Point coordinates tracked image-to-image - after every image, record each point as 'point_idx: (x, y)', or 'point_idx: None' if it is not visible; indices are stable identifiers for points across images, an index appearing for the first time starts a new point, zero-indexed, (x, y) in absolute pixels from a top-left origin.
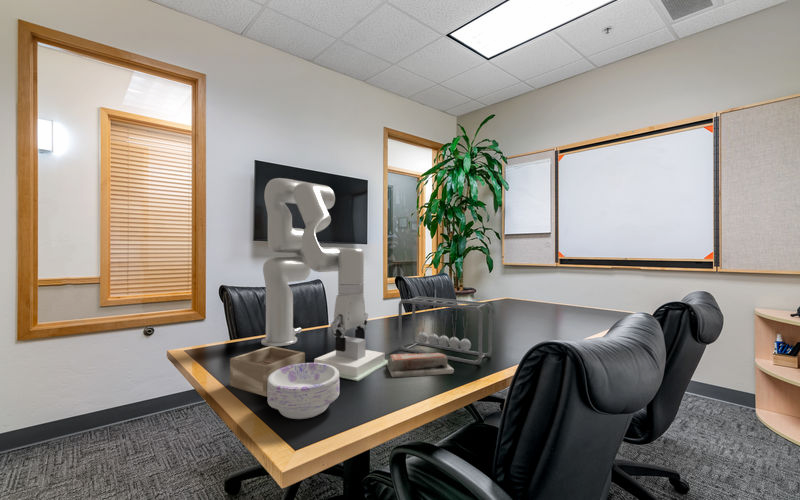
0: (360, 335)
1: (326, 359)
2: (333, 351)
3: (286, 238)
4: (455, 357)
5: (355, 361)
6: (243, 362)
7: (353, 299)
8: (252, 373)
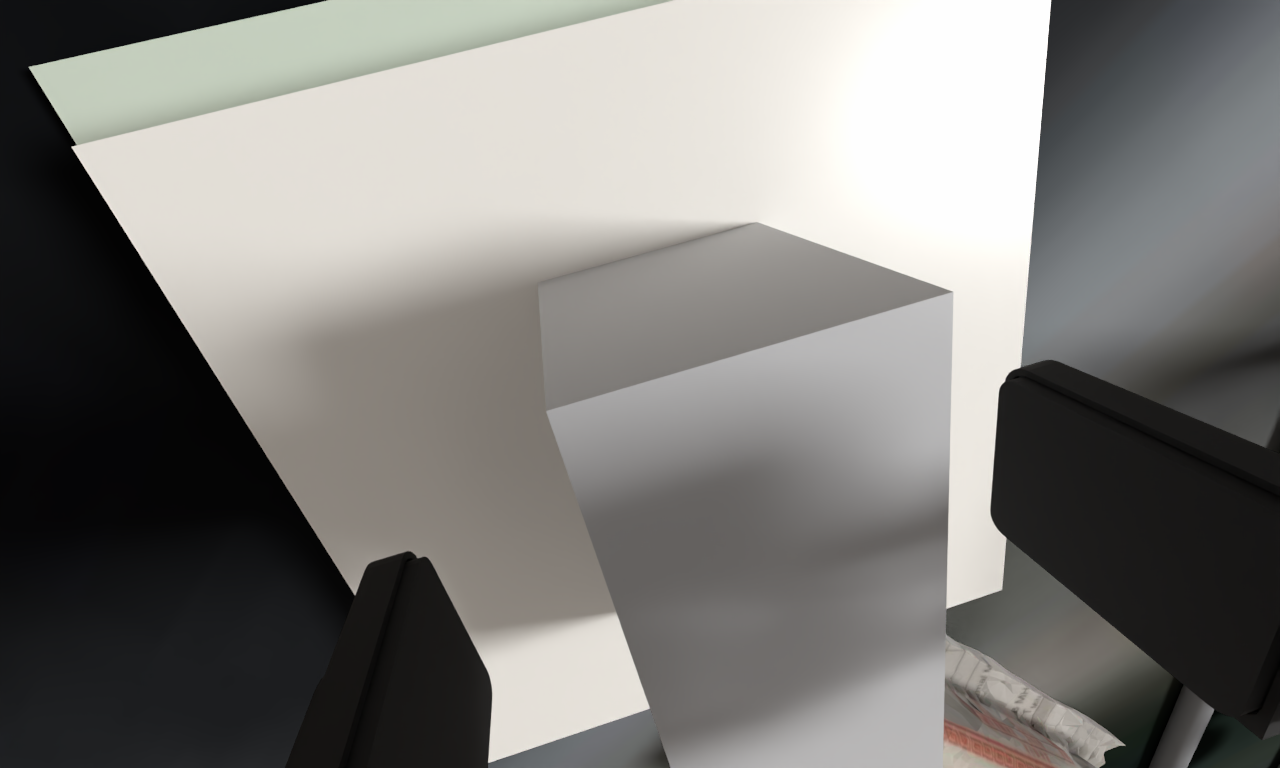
0: (1127, 577)
1: (293, 342)
2: (668, 22)
3: None
4: (1185, 763)
5: (580, 635)
6: None
7: None
8: None
